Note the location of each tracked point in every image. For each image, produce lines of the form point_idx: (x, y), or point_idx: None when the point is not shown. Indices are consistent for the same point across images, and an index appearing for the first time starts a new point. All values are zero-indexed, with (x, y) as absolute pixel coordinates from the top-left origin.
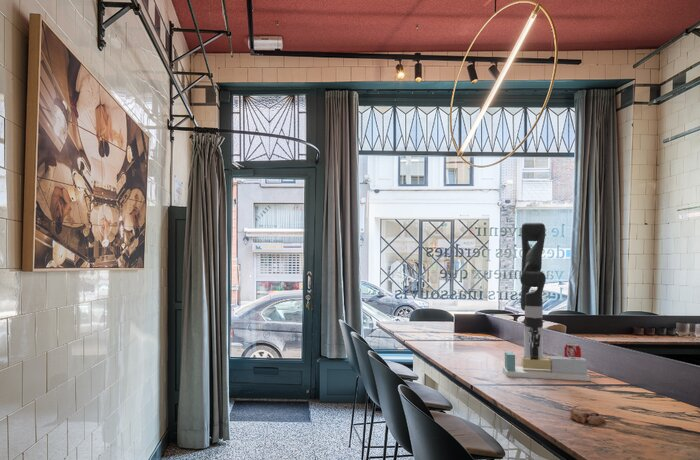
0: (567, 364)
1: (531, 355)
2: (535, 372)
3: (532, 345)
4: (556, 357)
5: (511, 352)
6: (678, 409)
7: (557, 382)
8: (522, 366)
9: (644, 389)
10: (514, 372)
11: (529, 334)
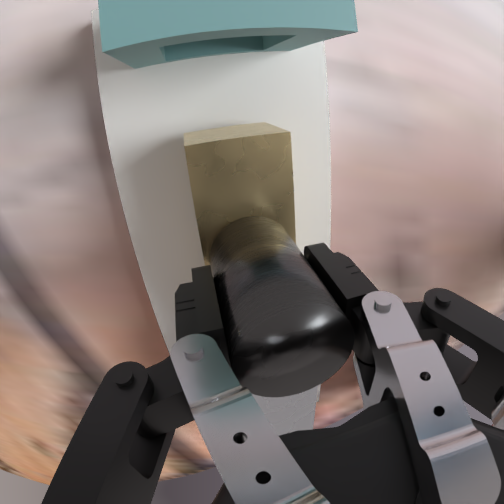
0: None
1: (226, 250)
2: (153, 220)
3: (184, 359)
4: (274, 398)
5: (295, 10)
6: (26, 472)
7: (86, 316)
8: (230, 127)
9: (162, 476)
10: (97, 67)
11: (424, 455)
